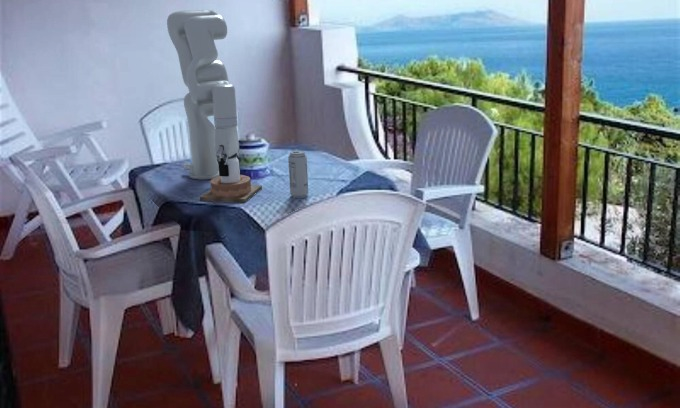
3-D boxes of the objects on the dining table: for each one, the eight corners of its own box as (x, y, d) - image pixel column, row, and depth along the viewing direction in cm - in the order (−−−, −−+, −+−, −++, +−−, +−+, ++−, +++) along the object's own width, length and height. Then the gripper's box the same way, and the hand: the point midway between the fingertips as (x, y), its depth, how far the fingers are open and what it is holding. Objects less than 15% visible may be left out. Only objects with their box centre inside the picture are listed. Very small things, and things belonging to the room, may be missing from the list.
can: (222, 188, 251) (219, 154, 247) (241, 187, 251) (239, 153, 247) (220, 194, 245) (217, 159, 241) (240, 193, 245) (237, 158, 241)
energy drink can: (309, 197, 242) (307, 153, 237) (291, 199, 241) (289, 154, 236) (306, 192, 247) (304, 149, 243) (289, 194, 246) (286, 150, 242)
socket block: (199, 200, 243) (198, 185, 241) (219, 187, 258) (217, 172, 256) (245, 202, 239) (244, 187, 237) (261, 188, 254) (261, 174, 252)
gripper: (225, 116, 250) (229, 165, 255) (204, 127, 234) (209, 178, 239) (246, 117, 248) (249, 166, 253) (226, 127, 232) (230, 179, 237)
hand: (229, 172), depth 246 cm, fingers open, 9 cm apart
